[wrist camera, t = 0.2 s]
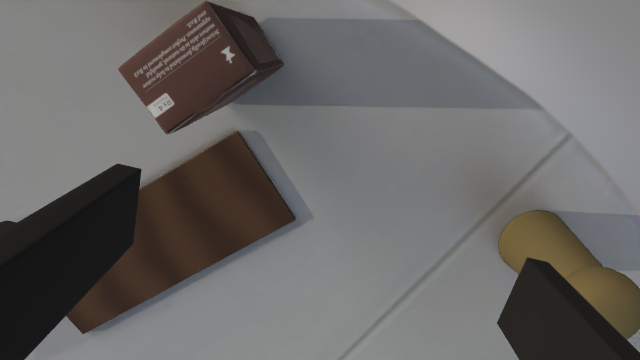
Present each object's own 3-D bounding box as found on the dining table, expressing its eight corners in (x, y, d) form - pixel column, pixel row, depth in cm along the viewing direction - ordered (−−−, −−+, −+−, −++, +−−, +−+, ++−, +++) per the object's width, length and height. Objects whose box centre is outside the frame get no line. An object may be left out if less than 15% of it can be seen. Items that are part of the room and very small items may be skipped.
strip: (237, 130, 34) (236, 131, 33) (295, 218, 36) (295, 219, 36) (20, 260, 38) (17, 262, 37) (85, 331, 40) (82, 334, 40)
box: (251, 12, 31) (207, -5, 19) (285, 64, 32) (263, 78, 21) (188, 58, 32) (111, 68, 20) (223, 107, 33) (170, 142, 22)
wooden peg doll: (515, 202, 35) (595, 270, 25) (580, 220, 36) (685, 294, 25) (487, 262, 37) (551, 349, 27) (549, 278, 38) (635, 369, 27)
